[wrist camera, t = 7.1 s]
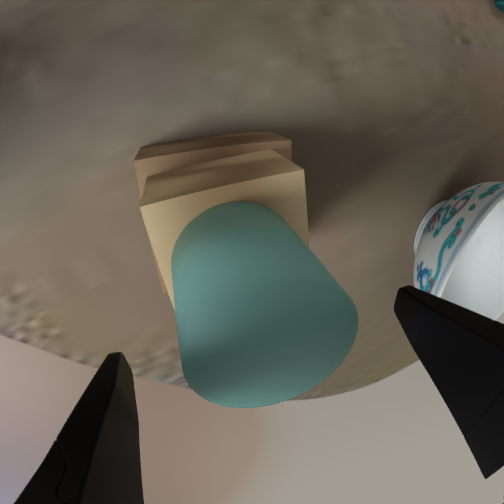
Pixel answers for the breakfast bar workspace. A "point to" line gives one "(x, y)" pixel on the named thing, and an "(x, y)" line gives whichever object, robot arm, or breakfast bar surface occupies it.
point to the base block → (203, 156)
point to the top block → (220, 197)
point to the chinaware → (464, 250)
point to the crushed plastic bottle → (500, 5)
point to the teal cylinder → (255, 308)
